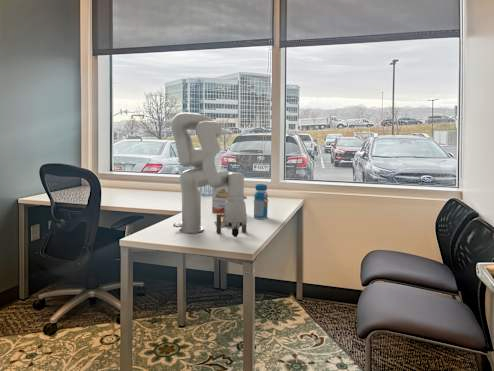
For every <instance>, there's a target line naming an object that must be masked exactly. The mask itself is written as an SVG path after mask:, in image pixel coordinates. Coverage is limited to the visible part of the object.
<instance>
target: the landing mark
mask: <svg viewBox="0 0 494 371" xmlns="http://www.w3.org/2000/svg"><path fill="white" fill-rule="evenodd" d="M236 224H237V223H234V227H236ZM214 225H215V227H217V221H214ZM222 228H231V227H230V226H229V225H225V224H224V223H223V221H222V220H221V229H222Z"/></svg>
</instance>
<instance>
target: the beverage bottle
mask: <svg viewBox="0 0 494 371" xmlns="http://www.w3.org/2000/svg"><path fill="white" fill-rule="evenodd" d="M267 190H268V185H267V184H264V183H263V184H262V183H258V184H255V193H254V195H253V218H254V219H257V220H266V219H268V204H269V203H268V202H269V199H268V197H269V195H268V192H267Z"/></svg>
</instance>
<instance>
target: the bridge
mask: <svg viewBox="0 0 494 371" xmlns="http://www.w3.org/2000/svg"><path fill="white" fill-rule="evenodd" d="M224 214H225V213H216V222H217V227H216V226H215V227H216V232H215V233H216V234H222V228H221V221H222V218H223V217H224ZM247 217H248V216H247V213H246V222H247V219H248V218H247ZM241 232H242V233H244V234H245V233H247V224H244V225H242V226H241Z"/></svg>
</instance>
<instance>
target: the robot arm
mask: <svg viewBox="0 0 494 371" xmlns="http://www.w3.org/2000/svg"><path fill="white" fill-rule="evenodd" d="M170 129H171V132H172V136H173V139H174V142H175V148H176V152H177V157H178V158H177V159H178V161H179V164H180V166H181V167H184V168H191V169H187V170H184V171H182V173H181V174H180V175H179V184H180V189H181V221H180V222H178V223H177V222H173V223H172V225H173V226H172V227H174V228H179V230H178V231H179V232H180V233H184V234H198V233H202V232H203V231H204V229H205V228H204V227H203V226H202V225H201V224H202V222H201V219H202V216H201V214H202V213H201V211H202V208H201V207H202V206H201V200H202V198H201V197H202V196H201V193H200V190H199V188H201V187H205V186H208V185H209V186H210V187H211V188H212V187H213V188H219V187H225V186H228V201H226V204H225V214H224V219H225V221H224V224H225V225H229V226H230V227H229V228H231V235H232V236H233V237H234V238H238V235H239V234H240V233H239V229H240V228H242V225H244V224H246V225H247V222H246V214H247V208H246V207H247V206H246V201H245V200H247V198H248V197H247V195H245V191H244V190H245V176H244V173H242V172H239V171H235V172H233V171H230V170H219V171H218V169H217V167H216V163H215V159H216V157H217V155H218V154H219V153H221V146H220V143H219V140H218V138H219V137H220V136H221V134H222V127H221V125H220V124H219V122H217V121H216V120H214V119H212V118H210V117H208V116H207V115H204V114H202V113H196V112H195V113H194V112H179V113H177V114H176V115H175V116H173V119H172V121H171V125H170ZM188 131H195V134H196V136H197V139H198V141H199V144H200V147H201V148H198V147H194V144H193V140H192V137H191V135H190V133H189V132H188ZM234 223H237V224H236V227H234Z"/></svg>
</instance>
